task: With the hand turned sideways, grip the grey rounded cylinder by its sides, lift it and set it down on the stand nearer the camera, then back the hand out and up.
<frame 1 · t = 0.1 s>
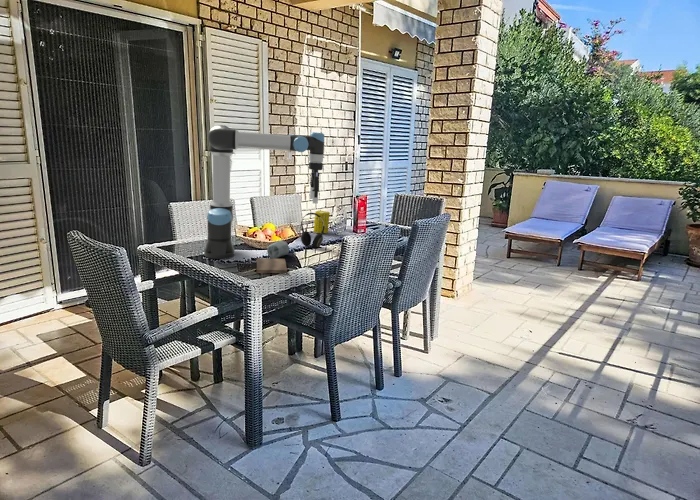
hand: (313, 201, 255), 28 cm above the table, fingers open, 13 cm apart
stand: (271, 267, 227), on the table
food: (320, 232, 304), on the table
grey rounded cylinder: (278, 257, 245), on the table
headphones: (311, 246, 269), on the table
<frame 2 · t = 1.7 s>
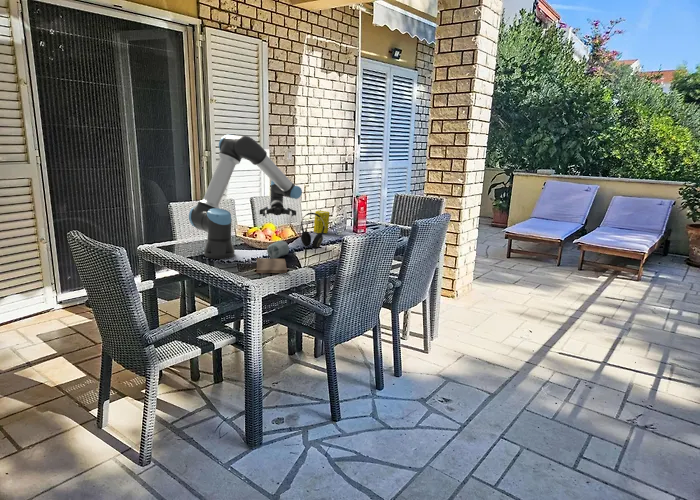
hand: (278, 215, 251), 20 cm above the table, fingers open, 13 cm apart
nothing on the table moved.
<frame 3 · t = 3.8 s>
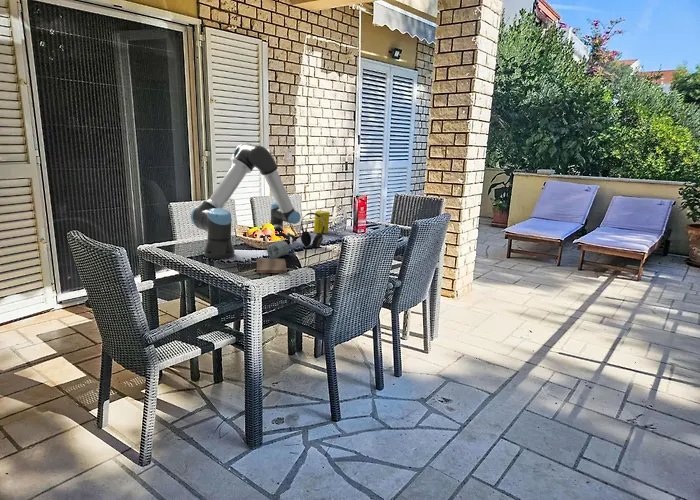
hand: (279, 242, 251), 6 cm above the table, fingers open, 13 cm apart
nothing on the table moved.
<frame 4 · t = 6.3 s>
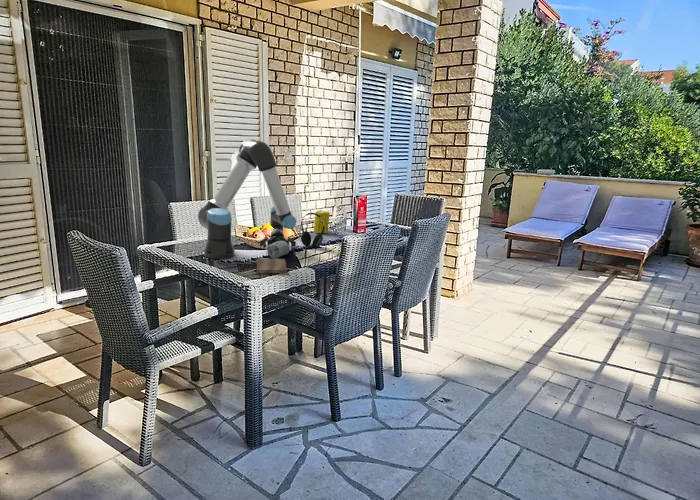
hand: (278, 247, 240), 6 cm above the table, fingers closed on grey rounded cylinder, 11 cm apart
grey rounded cylinder: (278, 257, 245), on the table, touching gripper
everything else where it was.
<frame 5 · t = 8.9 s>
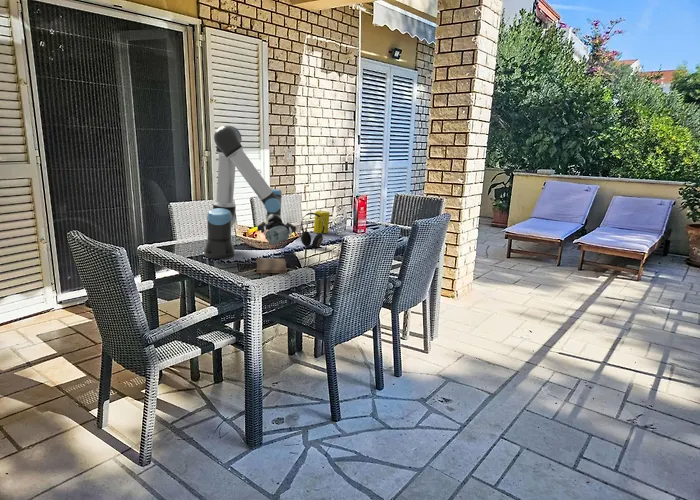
hand: (278, 232, 222), 18 cm above the table, fingers closed on grey rounded cylinder, 11 cm apart
grey rounded cylinder: (277, 243, 227), point 12 cm above the table, touching gripper
everything else where it was.
when the fingers open (9 cm above the table, at t = 11.9 s): grey rounded cylinder drops 1 cm, resting on stand.
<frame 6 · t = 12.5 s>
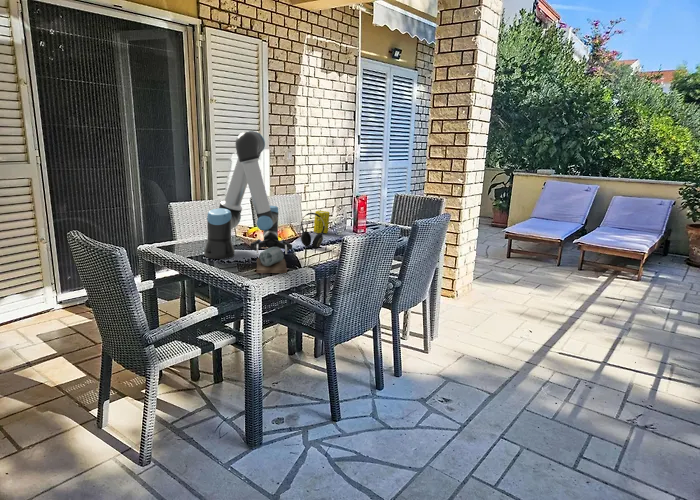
hand: (271, 251, 221), 10 cm above the table, fingers open, 13 cm apart
grey rounded cylinder: (271, 264, 226), point 2 cm above the table, touching stand
everything else where it was.
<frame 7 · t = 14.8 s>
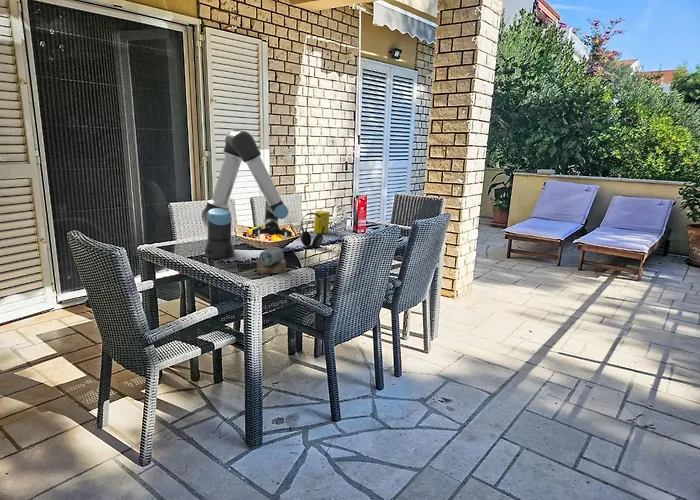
hand: (272, 236, 233), 13 cm above the table, fingers open, 13 cm apart
nothing on the table moved.
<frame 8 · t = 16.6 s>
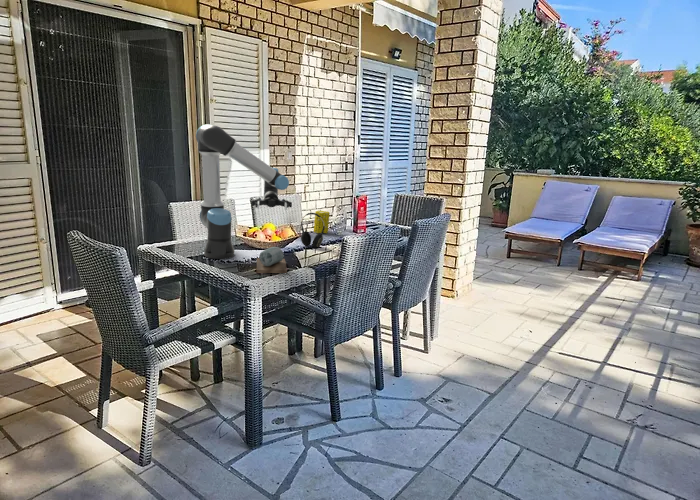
hand: (272, 206, 230), 28 cm above the table, fingers open, 13 cm apart
nothing on the table moved.
at the end: grey rounded cylinder inside the target area on the stand (0.0 cm from its centre), point 1.8 cm above the stand's base; grey rounded cylinder tilted 0°; the gripper is holding nothing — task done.
